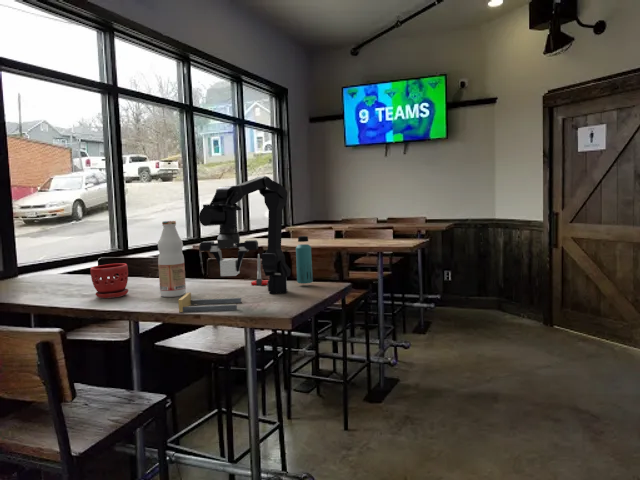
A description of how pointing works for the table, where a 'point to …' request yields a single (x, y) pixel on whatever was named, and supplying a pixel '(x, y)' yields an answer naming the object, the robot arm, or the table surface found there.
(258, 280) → the receipt spike
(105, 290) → the plant pot
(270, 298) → the table surface
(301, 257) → the beverage bottle
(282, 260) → the robot arm
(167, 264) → the fruit juice
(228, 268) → the aluminium lock block
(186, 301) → the guide rails
